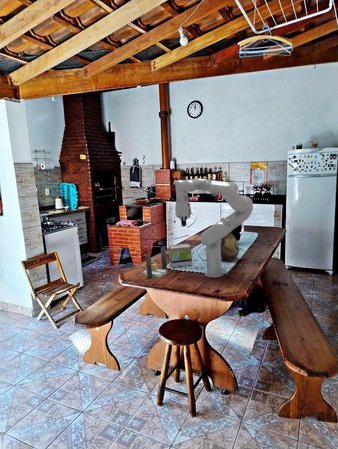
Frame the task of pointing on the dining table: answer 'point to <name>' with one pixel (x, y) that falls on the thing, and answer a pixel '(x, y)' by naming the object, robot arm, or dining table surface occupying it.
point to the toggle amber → (154, 266)
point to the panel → (157, 272)
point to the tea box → (180, 255)
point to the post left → (149, 266)
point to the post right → (163, 258)
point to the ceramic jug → (229, 248)
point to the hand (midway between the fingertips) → (183, 226)
